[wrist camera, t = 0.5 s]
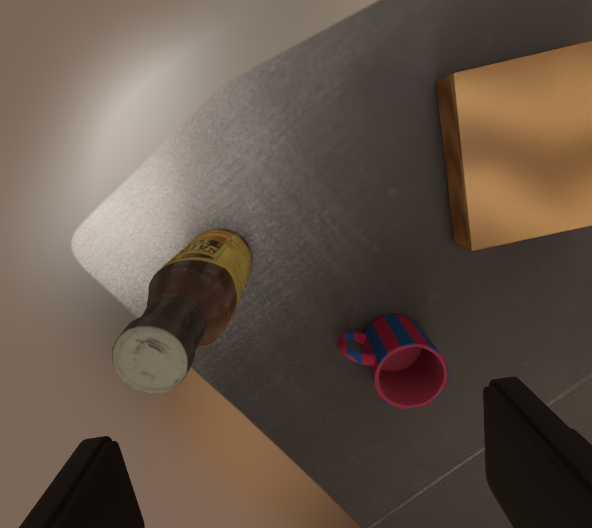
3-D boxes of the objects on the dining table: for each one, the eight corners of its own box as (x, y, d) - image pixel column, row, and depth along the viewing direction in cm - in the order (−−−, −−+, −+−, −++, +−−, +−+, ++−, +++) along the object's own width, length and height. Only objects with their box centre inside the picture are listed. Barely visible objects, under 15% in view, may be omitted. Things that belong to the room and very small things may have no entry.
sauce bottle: (232, 214, 38) (175, 274, 19) (265, 268, 40) (243, 374, 20) (175, 247, 39) (65, 337, 20) (210, 299, 40) (139, 429, 21)
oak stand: (435, 82, 35) (453, 73, 31) (569, 50, 35) (604, 37, 31) (453, 242, 39) (472, 251, 35) (574, 215, 39) (606, 222, 35)
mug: (403, 379, 43) (424, 419, 37) (322, 344, 42) (328, 379, 35) (435, 328, 42) (462, 361, 35) (351, 290, 40) (364, 317, 34)
